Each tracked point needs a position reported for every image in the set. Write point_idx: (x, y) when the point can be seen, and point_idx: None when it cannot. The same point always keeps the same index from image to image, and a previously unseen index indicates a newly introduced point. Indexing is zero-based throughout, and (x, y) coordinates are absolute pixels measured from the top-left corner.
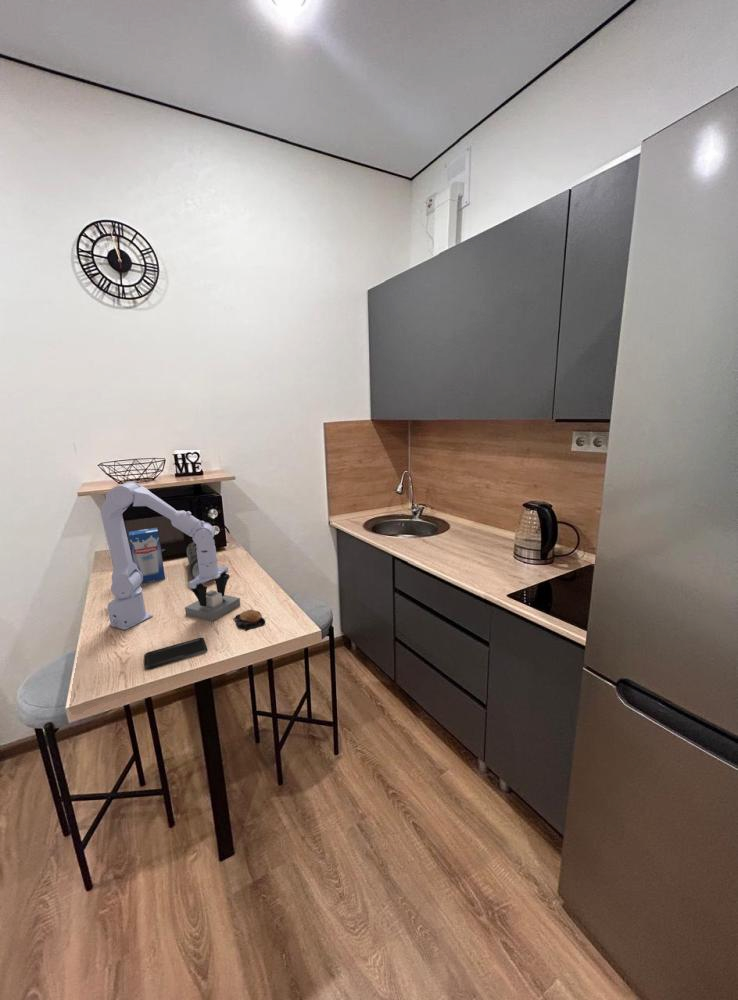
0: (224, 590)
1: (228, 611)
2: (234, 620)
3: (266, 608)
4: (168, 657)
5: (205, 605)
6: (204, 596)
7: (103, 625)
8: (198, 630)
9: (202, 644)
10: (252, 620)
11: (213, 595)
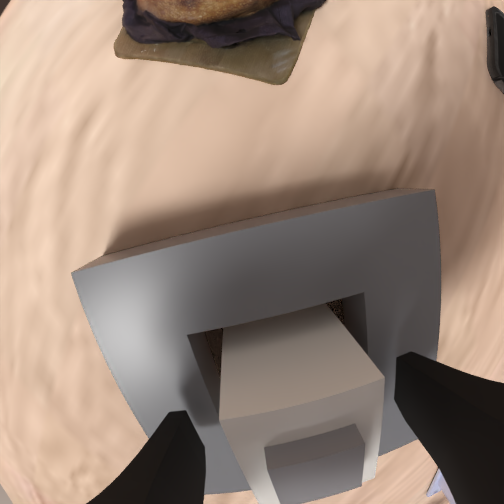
0: (150, 445)
1: (236, 222)
2: (296, 49)
3: (48, 51)
4: None
5: (406, 354)
6: (484, 389)
7: None
8: (480, 171)
9: (500, 40)
10: None
11: (322, 428)
